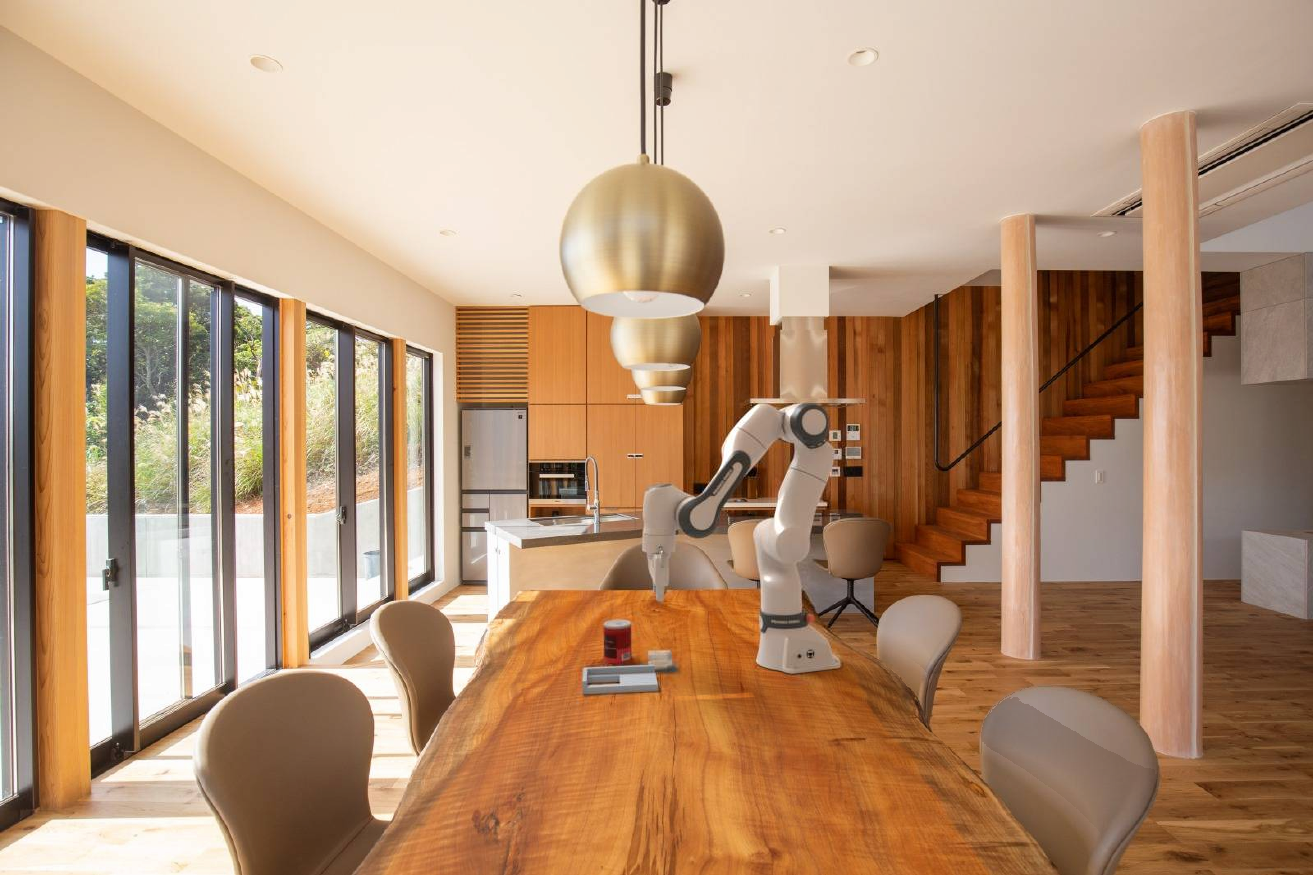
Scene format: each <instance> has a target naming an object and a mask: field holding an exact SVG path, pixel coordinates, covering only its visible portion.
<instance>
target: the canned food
mask: <svg viewBox="0 0 1313 875" xmlns="http://www.w3.org/2000/svg"><path fill="white" fill-rule="evenodd" d="M602 629H603V662H605V663H608V664H613V665H614V664H615V665H618V664H620V665H621V664H625V663H628V662H631V660H632V622H631V621H630V620H627V619H617V618H616V619H610V620H607V621H605V622H603V628H602Z"/></svg>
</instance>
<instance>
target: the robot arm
mask: <svg viewBox="0 0 1313 875" xmlns="http://www.w3.org/2000/svg"><path fill="white" fill-rule="evenodd" d="M829 429H830V417H829V414H828V412H827V410H826V409H825V408H824V407H822V406H821V405H819V404H816V403H813V402H801V403H800V402H799V403H794V404H791V405H788V406H783V407H781V408H779V409H777V408H776V407H774V406H772V405H771V404H768V403H764V402H763V403H758V404H756V405H754V406H753V407H752V408H751V409H750V410H748V411H747V413H745V414H744V416H743V417H741V419H739V421H738V422H737V423H736V424H735V425H734V427H733V428H732V429H731V431H730V432H729V433H728V435H726V438H725V440H724V442H723V443H722V446H721V457H722V458H721V459H722V460H721V464H720V467H719V469H718V471H717V472H716V473H715V475H714V476H713V478H712V479H711V481H709V483H708V485H707V486H706V487H705V488H704V490H703V491H702V493H700V494H699V495H697V496H694V495H691V494H688V493H687V492H684V491H682V490H681V489H679V488H677V487H676V486H674V484H672V483H661V484H656V485H652V486H649V487H648V488H646V490H645V492H644V496H643V505H642V519H643V520H642V521H643V529H642V540H641V541H642V546H641V548H642V552H644V553H646V558H647V567H648V572H649V575H650V577H651V579H652V586H653V587H652V588H653V589H652V591H653V594H656V595H655V596H656V597H655V598H656V602H663V601H664V596H665V594H664V593H665V587H668V586H669V584H670V563H669V562H670V561H669V559H670V558H671V553H675V552H676V531H679V530H680V531H682V532H683V533H684V534H685V535H687V536H688V537H690V538H692V539H693V538H694V539H704V538H706V537H709V536H711V535H712V534H713V533H714V532H715V530H716V529H717V527H718V524H719V521H720V517H721V515H722V514H721V513H722V510H723V508H724V507H725V505H726V503H727V502H728V500H729V499H730V498H731V496H732V495H733V493H734V492H735V490H736V489H737V488H738V487H739V485H740V483H741V482H742V481H743V479H744V477H746V475H747V474H748V473H749V472H750V471H751V470H752V469H753V468H754V466H756V464H757V463H758V462H759V461H760V460H761V459H762V458H763V457H764V455H765V454H766V453H767V452H768V450H769V449H770V447H771V446H772V444H773V443H774V442H776V441H777V440H778V441H780V442H783V443H787V444H793V446H794V455H793V458H792V461H791V462H790V464H789V467H788V469H787V471H786V474H785V477H784V479H783V481H782V483H781V485H780V488H779V490H778V493H777V504H776V508H775V512H774V515H773V517H770V518H766V519H763V520H761V521H760V522H759V523H757V525H755V527H754V530H753V534H752V538H753V542H754V547H755V554H756V561H757V568H758V574H759V581H760V609H759V616H758V621H759V623H758V624H759V625H758V626H759V630H760V637H759V638H760V639H759V646H758V652H757V656H756V660H755V662H756V663H757V664H758V665H759V666H761V667H763V668H765V669H766V668H767V669H770V670H774V671H780V672H783V673H787V674H791V675H792V674H800V673H801V674H802V673H808V672H809V673H810V672H818V671H826V670H827V671H828V670H833V669H839V668H841V666H842V664H841V660H840V658H839V657H838V656H836V655H835V654H834V653H832V647H831V644H830V642H829V640H828V639H827V637H825V635H823V634H822V633H820V632H819V631H818V630H817V629H816V628H814V627H813V626H812V625H810V623H814V621H815V620H816V618H815V616H814V615H813V614H812V613H808V612H806V611H805V610H803V608H802V607H803V605H802V604H803V600H802V599H803V598H802V594H803V593H802V581H801V578H800V575H799V571H798V568H797V563H800V562H801V561H803V560H804V559H806V558H807V556H808V554H809V552H810V549H811V539H810V538H811V532H812V527H813V524H814V523H813V522H814V518H815V514H816V510H817V507H818V504H819V502H820V500H821V497H822V496H823V493H824V490H825V488H826V485H827V483H828V480H829V477H830V476H831V472H832V469H833V466H834V460H835V455H836V450H835V448H834V447H833V445H832V444H831V443H830V442H828V440H829V438H830V432H829Z"/></svg>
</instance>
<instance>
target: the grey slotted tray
mask: <svg viewBox="0 0 1313 875" xmlns="http://www.w3.org/2000/svg"><path fill="white" fill-rule="evenodd" d="M656 674H657V673H655V665H642V664H640V665H636V664H635V665H616V666H615V665H613V666H595V667H594V666H593V667H583V669H582V682H581V685H582V688H581V690H582V692H581V694H582V695H598V694H599V695H600V694H620V693H621V694H622V693H624V694H625V693H640V692H642V693H645V692H658V691H659V684H658V683H659V682H658V679H657V676H656ZM618 682H619V683H618ZM597 683H598V684H597ZM599 683H601V684H599ZM602 683H610V684H602ZM589 684H590V685H589Z"/></svg>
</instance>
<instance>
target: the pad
mask: <svg viewBox="0 0 1313 875" xmlns="http://www.w3.org/2000/svg"><path fill="white" fill-rule="evenodd" d="M641 665H648V663H642V664H641ZM670 673H671V674H673V673H680V672H679V669H678V666H677V663H676V662H673V661H672V670H658V671H655V674H670Z"/></svg>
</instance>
